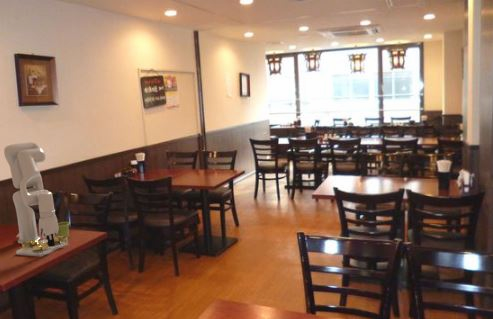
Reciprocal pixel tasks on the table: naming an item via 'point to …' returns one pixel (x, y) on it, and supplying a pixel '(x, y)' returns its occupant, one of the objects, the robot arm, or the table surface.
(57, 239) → the knob
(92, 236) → the table surface
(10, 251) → the table surface
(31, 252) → the base plate
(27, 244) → the knob near
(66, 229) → the plant pot
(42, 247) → the knob
